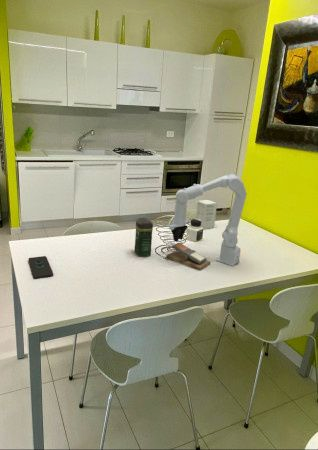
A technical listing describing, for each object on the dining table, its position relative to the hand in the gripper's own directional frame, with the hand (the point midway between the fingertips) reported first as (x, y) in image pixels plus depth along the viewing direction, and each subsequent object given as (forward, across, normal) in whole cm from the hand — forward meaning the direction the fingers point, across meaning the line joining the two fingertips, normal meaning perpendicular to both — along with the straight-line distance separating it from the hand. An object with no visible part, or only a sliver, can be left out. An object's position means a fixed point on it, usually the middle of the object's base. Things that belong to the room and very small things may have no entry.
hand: (177, 240), depth 173 cm
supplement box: (+10, -54, -14) cm, 57 cm away
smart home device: (+10, +55, -37) cm, 67 cm away
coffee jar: (+10, +9, -15) cm, 20 cm away
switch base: (+9, 0, +7) cm, 12 cm away
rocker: (+5, 0, +7) cm, 9 cm away
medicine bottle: (+10, -29, -7) cm, 31 cm away
